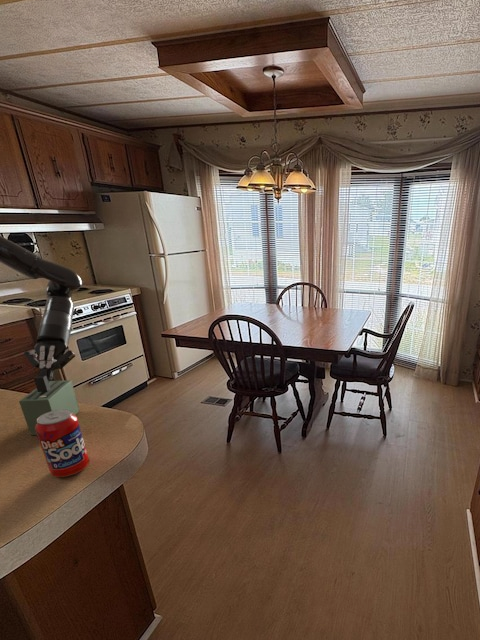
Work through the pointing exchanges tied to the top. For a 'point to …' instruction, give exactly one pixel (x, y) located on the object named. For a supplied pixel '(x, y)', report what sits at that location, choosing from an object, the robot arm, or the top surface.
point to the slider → (42, 383)
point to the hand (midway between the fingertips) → (44, 382)
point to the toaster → (48, 402)
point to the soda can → (62, 442)
